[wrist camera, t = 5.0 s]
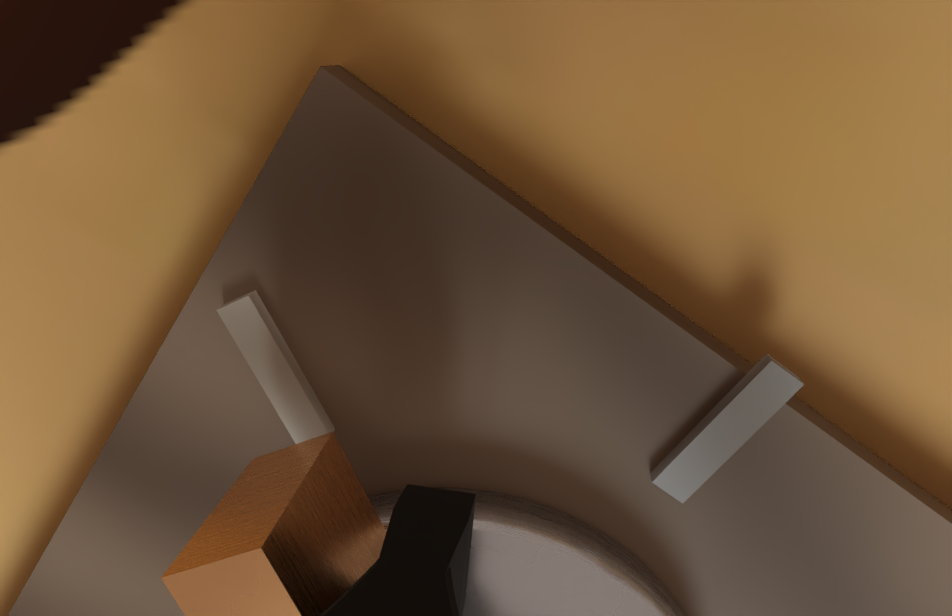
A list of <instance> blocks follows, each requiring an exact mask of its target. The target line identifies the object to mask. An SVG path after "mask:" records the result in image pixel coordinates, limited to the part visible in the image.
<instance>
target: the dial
mask: <svg viewBox="0 0 952 616" xmlns="http://www.w3.org/2000/svg"><path fill="white" fill-rule="evenodd" d="M438 489H444V490H451V491H458V492H465V493H471V494H476V500H475V510H474V520H473V530H472V539H471V549H470V559H469V568H468V578H467V588H466V597H465V603H464V609H463V615H462V616H686V615H685V613H684V611H683V610H682V608H681V607H680V606H679V604H678V603H677V601H676V600H675V599H674V597H673V596H672V594H671V593H670V591H669V590H668V589H667V587H666V586H665V585H664V584H663V583H662V582H661V581H660V580H659V579H658V578H657V577H656V575H655V574H654V573H653V572H652V571H651V570H650V569H649V568H648V567H647V566H646V565H645V564H644V563H643V562H641V561H640V560H639V559H638V558H637V557H635V556H634V555H633V554H632V553H631V552H629V551H628V550H627V549H626V548H624V547H623V546H622V545H621V544H619V543H618V542H616V541H615V540H613V539H612V538H610V537H608V536H607V535H605V534H604V533H602V532H601V531H599V530H597V529H596V528H594V527H593V526H591V525H589V524H587V523H585V522H583V521H580V520H578V519H576V518H574V517H572V516H570V515H568V514H566V513H564V512H562V511H559V510H556V509H554V508H551V507H548V506H545V505H542V504H539V503H536V502H534V501H531V500H528V499H523V498H519V497H515V496H510V495H506V494H502V493H497V492H492V491H483V490H475V489H466V488H438ZM402 492H403V490H401V491H392V492H388V493H384V494H380V495H376V496H372V497H368V496H367V494H366V492H365V490H364V489H363V487H362V485H361V483H360V481H359V479H358V477H357V475H356V474H355V472H354V470H353V468H352V466H351V464H350V462H349V460H348V459H347V457H346V455H345V453H344V451H343V449H342V447H341V445H340V444H339V442H338V440H337V438H336V436H335V434H334V432H330V433H327V434H324V435H321V436H318V437H315V438H312V439H309V440H306V441H303V442H300V443H297V444H295V445H292V446H289V447H286V448H283V449H280V450H277V451H274V452H271V453H268V454H265V455H262V456H259V457H256V458H253V459H252V461H251V462H250V463H249V465H248V466H247V467H246V468H245V470H244V471H243V472H242V474H241V475H240V476H239V477H238V479H237V480H236V481H235V483H234V484H233V485H232V487H231V488H230V489H229V490H228V492H227V493H226V494H225V496H224V497H223V498H222V499H221V501H220V502H219V503H218V505H217V506H216V507H215V508H214V510H213V511H212V512H211V514H210V515H209V516H208V518H207V519H206V520H205V521H204V523H203V524H202V525H201V527H200V528H199V529H198V530H197V532H196V533H195V534H194V536H193V537H192V538H191V539H190V541H189V542H188V543H187V545H186V546H185V547H184V549H183V550H182V551H181V552H180V554H179V555H178V556H177V558H176V559H175V560H174V561H173V563H172V564H171V565H170V567H169V568H168V569H167V570H166V572H165V573H164V574H163V576H162V577H161V580H162V581H163V583H164V584H165V586H166V587H167V589H168V590H169V592H170V593H171V595H172V596H173V598H174V599H175V601H176V602H177V604H178V606H179V607H180V609H181V610H182V612H183V613H184V615H185V616H320V615H321V614H322V613H323V612H324V611H325V610H327V609H328V608H329V607H330V606H331V605H332V604H333V603H334V602H335V601H336V600H338V599H339V598H340V597H341V596H342V595H343V594H344V593H345V592H346V591H347V590H348V589H349V588H350V587H351V586H352V585H353V584H354V583H355V582H356V581H357V580H358V579H359V578H360V577H361V576H362V575H363V574H364V573H365V572H366V571H367V570H368V569H369V568H370V567H371V566H372V565H373V564H374V563H375V562H376V561H377V560H378V559H379V556H380V553H381V549H382V546H383V542H384V539H385V535H386V532H387V528H388V525H389V521H390V518H391V515H392V511H393V508H394V506H395V504H396V502H397V501H398V499H399V497H400V495H401V494H402Z"/></svg>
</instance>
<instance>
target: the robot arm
mask: <svg viewBox="0 0 952 616" xmlns="http://www.w3.org/2000/svg"><path fill="white" fill-rule="evenodd" d="M475 500H476V494H471V493H465V492H458V491H451V490H444V489H438V488H431V487H424V486H417V485H411V484H407V486H406V487H405V489H404V490H403V492H402V494H401V495H400V497H399V499H398V501H397V502H396V504H395V506H394V508H393V511H392V515H391V518H390V521H389V525H388V528H387V532H386V535H385V539H384V542H383V546H382V549H381V553H380V556H379V559H378V560H377V561H376V562H375V563H374V564H373V565H372V566H371V567H370V568H369V569H368V570H367V571H366V572H365V573H364V574H363V575H362V576H361V577H360V578H359V579H358V580H357V581H356V582H355V583H354V584H353V585H352V586H351V587H350V588H349V589H348V590H347V591H346V592H345V593H344V594H343V595H342V596H341V597H340V598H339V599H338V600H336V601H335V602H334V603H333V604H332V605H331V606H330V607H329V608H328V609H327V610H325V611H324V612H323V613H322V614H321V615H320V616H462V615H463V609H464V603H465V597H466V588H467V578H468V568H469V559H470V549H471V539H472V530H473V520H474V510H475Z"/></svg>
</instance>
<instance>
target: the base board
mask: <svg viewBox="0 0 952 616" xmlns="http://www.w3.org/2000/svg"><path fill="white" fill-rule="evenodd" d="M803 385H804V383H803V382H802V381H801V379H800V378H799V377H798V376H797V375H796V374H794V373H793V372H792V371H790V370H789V369H787V368H786V367H785V366H783V365H782V364H781V363H779V362H778V361H777V360H775V359H774V358H772V357H771V356H770V355H768V354H766V355H765V356H764V357H763V358H762V359H761V360H760V361H759V362H758V363H757V364H756V365H755V366H752V365H751V364H750V363H748V362H747V361H746V360H744V359H743V358H741V357H740V356H739V355H737V354H736V353H735V352H733V351H732V350H730V349H729V348H728V347H726V346H725V345H723V344H722V343H721V342H719V341H718V340H717V339H715V338H714V337H712V336H711V335H710V334H708V333H707V332H706V331H704V330H703V329H701V328H700V327H699V326H697V325H696V324H695V323H693V322H692V321H690V320H689V319H688V318H686V317H685V316H684V315H682V314H681V313H679V312H678V311H677V310H675V309H674V308H673V307H671V306H670V305H668V304H667V303H666V302H664V301H663V300H662V299H660V298H659V297H657V296H656V295H655V294H653V293H652V292H651V291H649V290H648V289H646V288H645V287H644V286H642V285H641V284H640V283H638V282H637V281H635V280H634V279H633V278H631V277H630V276H629V275H627V274H626V273H624V272H623V271H622V270H620V269H619V268H618V267H616V266H615V265H613V264H612V263H611V262H609V261H608V260H607V259H605V258H604V257H602V256H601V255H600V254H598V253H597V252H596V251H594V250H593V249H591V248H590V247H589V246H587V245H586V244H585V243H583V242H582V241H580V240H579V239H578V238H576V237H575V236H574V235H572V234H571V233H569V232H568V231H567V230H565V229H564V228H563V227H561V226H560V225H558V224H557V223H556V222H554V221H553V220H552V219H550V218H549V217H547V216H546V215H545V214H543V213H542V212H541V211H539V210H538V209H536V208H535V207H534V206H532V205H531V204H530V203H528V202H527V201H525V200H524V199H523V198H521V197H520V196H519V195H517V194H516V193H514V192H513V191H512V190H510V189H509V188H508V187H506V186H505V185H503V184H502V183H501V182H499V181H498V180H497V179H495V178H494V177H492V176H491V175H490V174H488V173H487V172H486V171H484V170H483V169H481V168H480V167H479V166H477V165H476V164H475V163H473V162H472V161H470V160H469V159H468V158H466V157H465V156H464V155H462V154H461V153H459V152H458V151H457V150H455V149H454V148H453V147H451V146H450V145H448V144H447V143H446V142H444V141H443V140H442V139H440V138H439V137H437V136H436V135H435V134H433V133H432V132H431V131H429V130H428V129H426V128H425V127H424V126H422V125H421V124H420V123H418V122H417V121H415V120H414V119H413V118H411V117H410V116H409V115H407V114H406V113H404V112H403V111H402V110H400V109H399V108H398V107H396V106H395V105H393V104H392V103H391V102H389V101H388V100H387V99H385V98H384V97H382V96H381V95H380V94H378V93H377V92H376V91H374V90H373V89H371V88H370V87H369V86H367V85H366V84H365V83H363V82H362V81H360V80H359V79H358V78H356V77H355V76H354V75H352V74H351V73H349V72H348V71H347V70H345V69H344V68H343V67H341V66H340V65H337V66H320V68H319V70H318V72H317V73H316V75H315V77H314V79H313V81H312V82H311V84H310V86H309V88H308V89H307V91H306V93H305V95H304V96H303V98H302V100H301V102H300V103H299V105H298V107H297V109H296V110H295V112H294V114H293V116H292V117H291V119H290V121H289V123H288V124H287V126H286V128H285V130H284V131H283V133H282V135H281V137H280V138H279V140H278V142H277V144H276V145H275V147H274V149H273V151H272V152H271V154H270V156H269V158H268V160H267V161H266V163H265V165H264V167H263V168H262V170H261V172H260V174H259V175H258V177H257V179H256V181H255V182H254V184H253V186H252V188H251V189H250V191H249V193H248V195H247V196H246V198H245V200H244V202H243V203H242V205H241V207H240V209H239V210H238V212H237V214H236V216H235V217H234V219H233V221H232V223H231V224H230V226H229V228H228V230H227V232H226V233H225V235H224V237H223V239H222V240H221V242H220V244H219V246H218V247H217V249H216V251H215V253H214V254H213V256H212V258H211V260H210V261H209V263H208V265H207V267H206V268H205V270H204V272H203V274H202V275H201V277H200V279H199V281H198V282H197V284H196V286H195V288H194V289H193V291H192V293H191V295H190V296H189V298H188V300H187V302H186V303H185V305H184V307H183V309H182V311H181V312H180V314H179V316H178V318H177V319H176V321H175V323H174V325H173V326H172V328H171V330H170V332H169V333H168V335H167V337H166V339H165V340H164V342H163V344H162V346H161V347H160V349H159V351H158V353H157V354H156V356H155V358H154V360H153V361H152V363H151V365H150V367H149V368H148V370H147V372H146V374H145V375H144V377H143V379H142V381H141V383H140V384H139V386H138V388H137V390H136V391H135V393H134V395H133V397H132V398H131V400H130V402H129V404H128V405H127V407H126V409H125V411H124V412H123V414H122V416H121V418H120V419H119V421H118V423H117V425H116V426H115V428H114V430H113V432H112V433H111V435H110V437H109V439H108V440H107V442H106V444H105V446H104V447H103V449H102V451H101V453H100V454H99V456H98V458H97V460H96V462H95V463H94V465H93V467H92V469H91V470H90V472H89V474H88V476H87V477H86V479H85V481H84V483H83V484H82V486H81V488H80V490H79V491H78V493H77V495H76V497H75V498H74V500H73V502H72V504H71V505H70V507H69V509H68V511H67V512H66V514H65V516H64V518H63V519H62V521H61V523H60V525H59V526H58V528H57V530H56V532H55V533H54V535H53V537H52V539H51V541H50V542H49V544H48V546H47V548H46V549H45V551H44V553H43V555H42V556H41V558H40V560H39V562H38V563H37V565H36V567H35V569H34V570H33V572H32V574H31V576H30V577H29V579H28V581H27V583H26V584H25V586H24V588H23V590H22V591H21V593H20V595H19V597H18V598H17V600H16V602H15V604H14V605H13V607H12V609H11V611H10V613H9V614H8V616H185V615H184V613H183V612H182V610H181V609H180V607H179V606H178V604H177V602H176V601H175V599H174V598H173V596H172V595H171V593H170V592H169V590H168V589H167V587H166V586H165V584H164V583H163V581H162V580H161V577H162V576H163V574H164V573H165V572H166V570H167V569H168V568H169V567H170V565H171V564H172V563H173V561H174V560H175V559H176V558H177V556H178V555H179V554H180V552H181V551H182V550H183V549H184V547H185V546H186V545H187V543H188V542H189V541H190V539H191V538H192V537H193V536H194V534H195V533H196V532H197V530H198V529H199V528H200V527H201V525H202V524H203V523H204V521H205V520H206V519H207V518H208V516H209V515H210V514H211V512H212V511H213V510H214V508H215V507H216V506H217V505H218V503H219V502H220V501H221V499H222V498H223V497H224V496H225V494H226V493H227V492H228V490H229V489H230V488H231V487H232V485H233V484H234V483H235V481H236V480H237V479H238V477H239V476H240V475H241V474H242V472H243V471H244V470H245V468H246V467H247V466H248V465H249V463H250V462H251V461H252V459H253V458H256V457H259V456H262V455H265V454H268V453H271V452H274V451H277V450H280V449H283V448H286V447H289V446H292V445H295V444H297V443H300V442H303V441H306V440H309V439H312V438H315V437H318V436H321V435H324V434H327V433H330V432H334V434H335V436H336V438H337V440H338V442H339V444H340V445H341V447H342V449H343V451H344V453H345V455H346V457H347V459H348V460H349V462H350V464H351V466H352V468H353V470H354V472H355V474H356V475H357V477H358V479H359V481H360V483H361V485H362V487H363V489H364V490H365V492H366V494H367V496H368V497H372V496H376V495H380V494H384V493H388V492H392V491H401V490H404V489H405V487H406V486H407V484H411V485H417V486H424V487H431V488H466V489H475V490H483V491H492V492H497V493H502V494H506V495H510V496H515V497H519V498H523V499H528V500H531V501H534V502H536V503H539V504H542V505H545V506H548V507H551V508H554V509H556V510H559V511H562V512H564V513H566V514H568V515H570V516H572V517H574V518H576V519H578V520H580V521H583V522H585V523H587V524H589V525H591V526H593V527H594V528H596V529H597V530H599V531H601V532H602V533H604V534H605V535H607V536H608V537H610V538H612V539H613V540H615V541H616V542H618V543H619V544H621V545H622V546H623V547H624V548H626V549H627V550H628V551H629V552H631V553H632V554H633V555H634V556H635V557H637V558H638V559H639V560H640V561H641V562H643V563H644V564H645V565H646V566H647V567H648V568H649V569H650V570H651V571H652V572H653V573H654V574H655V575H656V577H657V578H658V579H659V580H660V581H661V582H662V583H663V584H664V585H665V586H666V587H667V589H668V590H669V591H670V593H671V594H672V596H673V597H674V599H675V600H676V601H677V603H678V604H679V606H680V607H681V608H682V610H683V611H684V613H685V615H686V616H952V510H950V509H949V508H948V507H946V506H945V505H944V504H942V503H941V502H939V501H938V500H937V499H935V498H934V497H933V496H931V495H930V494H928V493H927V492H926V491H924V490H923V489H922V488H920V487H919V486H917V485H916V484H915V483H913V482H912V481H911V480H909V479H908V478H906V477H905V476H904V475H902V474H901V473H900V472H898V471H897V470H895V469H894V468H893V467H891V466H890V465H889V464H887V463H886V462H884V461H883V460H882V459H880V458H879V457H878V456H876V455H875V454H873V453H872V452H871V451H869V450H868V449H867V448H865V447H864V446H862V445H861V444H860V443H858V442H857V441H856V440H854V439H853V438H851V437H850V436H849V435H847V434H846V433H845V432H843V431H842V430H840V429H839V428H838V427H836V426H835V425H834V424H832V423H831V422H829V421H828V420H827V419H825V418H824V417H823V416H821V415H820V414H818V413H817V412H816V411H814V410H813V409H812V408H810V407H809V406H807V405H806V404H805V403H803V402H802V401H801V400H799V399H798V398H796V397H795V396H794V394H795V393H796V392H797V391H798V390H799V389H800V388H801V387H802V386H803Z"/></svg>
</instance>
